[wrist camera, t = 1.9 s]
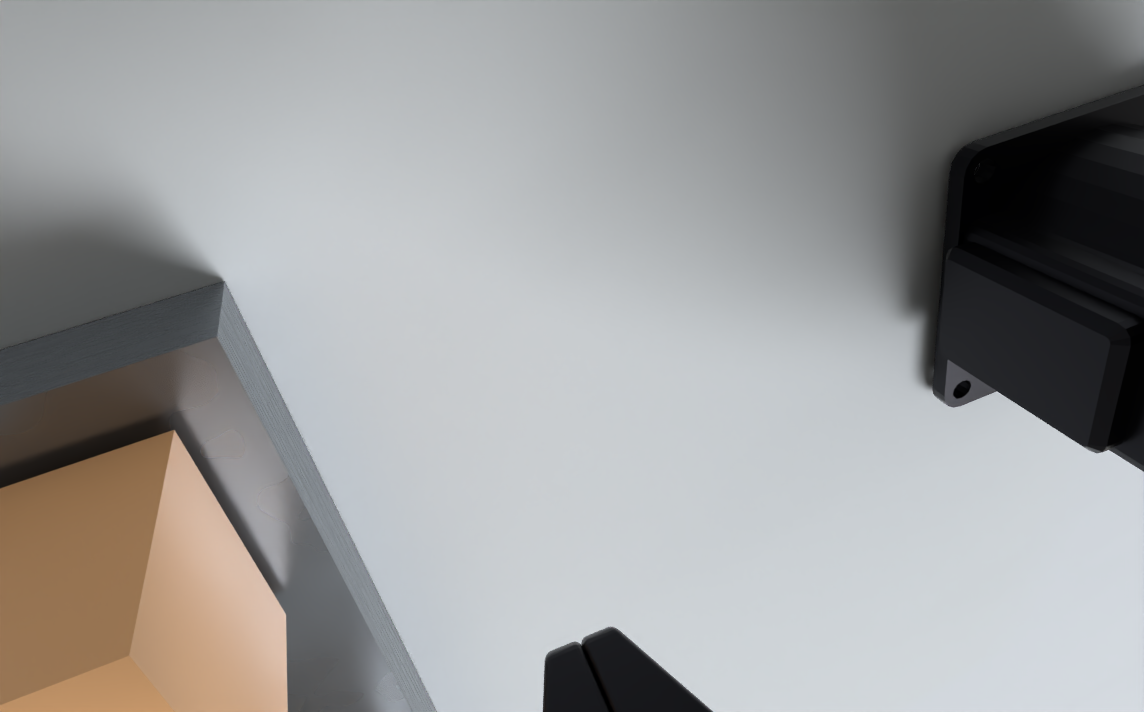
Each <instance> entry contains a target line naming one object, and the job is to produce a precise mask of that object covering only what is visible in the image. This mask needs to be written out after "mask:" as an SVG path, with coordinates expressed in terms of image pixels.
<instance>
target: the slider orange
mask: <svg viewBox="0 0 1144 712" xmlns="http://www.w3.org/2000/svg"><path fill="white" fill-rule="evenodd" d="M0 712H288V705H287V643H286V614H285V612H284V610H283V609H282V607H281V605H280V604H279V602H278V600H277V599H276V597H275V595H274V594H273V592H272V590H271V589H270V587H269V585H268V584H267V582H266V580H265V579H264V577H263V575H262V574H261V572H260V571H259V569H258V567H257V566H256V564H255V562H254V561H253V559H252V557H251V556H250V554H249V552H248V551H247V549H246V547H245V546H244V544H243V542H242V541H241V539H240V537H239V536H238V534H237V532H236V531H235V529H234V527H233V526H232V524H231V523H230V521H229V519H228V518H227V516H226V514H225V513H224V511H223V509H222V508H221V506H220V504H219V503H218V501H217V499H216V498H215V496H214V494H213V493H212V491H211V489H210V488H209V486H208V484H207V483H206V481H205V479H204V478H203V476H202V474H201V473H200V471H199V470H198V468H197V466H196V465H195V463H194V461H193V460H192V458H191V456H190V455H189V453H188V451H187V450H186V448H185V446H184V445H183V443H182V441H181V440H180V438H179V436H178V435H177V433H176V431H175V430H172V431H169V432H166V433H163V434H160V435H157V436H154V437H151V438H148V439H145V440H142V441H139V442H136V443H133V444H130V445H127V446H125V447H122V448H119V449H116V450H113V451H110V452H107V453H104V454H101V455H98V456H95V457H92V458H89V459H86V460H83V461H80V462H77V463H74V464H71V465H68V466H65V467H62V468H59V469H56V470H53V471H50V472H48V473H45V474H42V475H39V476H36V477H33V478H30V479H27V480H24V481H21V482H18V483H15V484H12V485H9V486H6V487H3V488H0Z"/></svg>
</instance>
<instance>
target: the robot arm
mask: <svg viewBox="0 0 1144 712" xmlns="http://www.w3.org/2000/svg"><path fill="white" fill-rule="evenodd" d="M979 163H980V166H979V169H978V170H977V171H976V173H975V170H976V167H977V166H978V165H979ZM974 173H975V174H974ZM996 391H998V392H999V393H1001V394H1002V395H1004V396H1005V397H1007V398H1008V399H1010V400H1012V401H1013V402H1015V403H1016V404H1018V405H1019V406H1021V407H1022V408H1024V409H1026V410H1027V411H1029V412H1030V413H1032V414H1033V415H1035V416H1036V417H1038V418H1040V419H1041V420H1043V421H1044V422H1046V423H1047V424H1049V425H1050V426H1052V427H1054V428H1055V429H1057V430H1058V431H1060V432H1061V433H1063V434H1064V435H1066V436H1068V437H1069V438H1071V439H1072V440H1074V441H1075V442H1077V443H1078V444H1080V445H1082V446H1083V447H1085V448H1086V449H1088V450H1090V451H1092V452H1095V453H1101V452H1104V451H1107V450H1110V451H1112V452H1113V453H1115V454H1116V455H1118V456H1120V457H1121V458H1123V459H1124V460H1126V461H1128V462H1129V463H1131V464H1132V465H1134V466H1136V467H1137V468H1139V469H1140V470H1142V471H1144V85H1143V86H1140V87H1137V88H1134V89H1131V90H1128V91H1125V92H1122V93H1119V94H1116V95H1113V96H1110V97H1107V98H1104V99H1101V100H1098V101H1095V102H1092V103H1089V104H1085V105H1082V106H1079V107H1076V108H1073V109H1070V110H1067V111H1064V112H1061V113H1058V114H1055V115H1052V116H1049V117H1046V118H1043V119H1040V120H1037V121H1034V122H1031V123H1028V124H1025V125H1022V126H1019V127H1016V128H1013V129H1010V130H1007V131H1004V132H1001V133H998V134H995V135H992V136H989V137H986V138H983V139H980V140H977V141H974V142H972V143H970V144H968V145H966V146H964V147H963V148H962V149H961V150H960V151H959V152H958V153H957V155H956V157H955V158H954V160H953V162H952V164H951V169H950V173H949V186H948V198H947V211H946V224H945V237H944V249H943V262H942V275H941V288H940V300H939V313H938V326H937V339H936V351H935V364H934V377H933V394H934V395H935V396H936V397H937V398H938V399H939V400H941V401H942V402H943V403H945V404H946V405H948V406H950V407H958V406H962V405H964V404H967V403H969V402H971V401H974V400H976V399H979V398H981V397H984V396H986V395H989V394H991V393H994V392H996ZM581 644H582V646H581ZM581 644H580V643H578V642H572V643H569V644H567V645H564V646H562V647H560V648H557V649H555V650H552V651H550V652H549V653H548V654H547V655H546V658H545V670H544V696H543V712H713V711H712V710H711V709H709V708H708V707H707V706H706V705H705V704H704V703H702V702H701V701H700V700H699V699H698V698H697V697H696V696H694V695H693V694H692V693H691V692H690V691H689V690H687V689H686V688H685V687H684V686H683V685H682V684H681V683H679V682H678V681H677V680H676V679H675V678H674V677H673V676H671V675H670V674H669V673H668V672H667V671H666V670H664V669H663V668H662V667H661V666H660V665H659V664H658V663H656V662H655V661H654V660H653V659H652V658H651V657H649V656H648V655H647V654H646V653H645V652H644V651H643V650H641V649H640V648H639V647H638V646H637V645H636V644H634V643H633V642H632V641H631V640H630V639H629V638H628V637H626V636H625V635H624V634H623V633H622V632H621V631H619V630H618V629H616V628H614V627H607V628H605V629H603V630H600V631H598V632H595V633H593V634H591V635H588V636H586V637H584V638H583V640H582V643H581Z"/></svg>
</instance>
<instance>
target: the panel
mask: <svg viewBox="0 0 1144 712" xmlns="http://www.w3.org/2000/svg"><path fill="white" fill-rule="evenodd" d="M172 430H175V431H176V433H177V435H178V436H179V438H180V440H181V441H182V443H183V445H184V446H185V448H186V450H187V451H188V453H189V455H190V456H191V458H192V460H193V461H194V463H195V465H196V466H197V468H198V470H199V471H200V473H201V474H202V476H203V478H204V479H205V481H206V483H207V484H208V486H209V488H210V489H211V491H212V493H213V494H214V496H215V498H216V499H217V501H218V503H219V504H220V506H221V508H222V509H223V511H224V513H225V514H226V516H227V518H228V519H229V521H230V523H231V524H232V526H233V527H234V529H235V531H236V532H237V534H238V536H239V537H240V539H241V541H242V542H243V544H244V546H245V547H246V549H247V551H248V552H249V554H250V556H251V557H252V559H253V561H254V562H255V564H256V566H257V567H258V569H259V571H260V572H261V574H262V575H263V577H264V579H265V580H266V582H267V584H268V585H269V587H270V589H271V590H272V592H273V594H274V595H275V597H276V599H277V600H278V602H279V604H280V605H281V607H282V609H283V610H284V612H285V614H286V643H287V705H288V712H437V711H436V709H435V707H434V705H433V703H432V701H431V699H430V697H429V695H428V693H427V691H426V689H425V687H424V685H423V683H422V681H421V679H420V677H419V675H418V673H417V671H416V669H415V666H414V664H413V662H412V660H411V658H410V656H409V654H408V652H407V650H406V648H405V646H404V644H403V642H402V640H401V638H400V636H399V634H398V632H397V630H396V628H395V626H394V624H393V622H392V620H391V618H390V616H389V614H388V612H387V610H386V608H385V606H384V604H383V601H382V599H381V597H380V595H379V593H378V591H377V589H376V587H375V585H374V583H373V581H372V579H371V577H370V575H369V573H368V571H367V569H366V567H365V565H364V563H363V561H362V559H361V557H360V555H359V553H358V551H357V549H356V547H355V545H354V543H353V541H352V539H351V537H350V534H349V532H348V530H347V528H346V526H345V524H344V522H343V520H342V518H341V516H340V514H339V512H338V510H337V508H336V506H335V504H334V502H333V500H332V498H331V496H330V494H329V492H328V490H327V488H326V486H325V484H324V482H323V480H322V478H321V476H320V474H319V472H318V469H317V467H316V465H315V463H314V461H313V459H312V457H311V455H310V453H309V451H308V449H307V447H306V445H305V443H304V441H303V439H302V437H301V435H300V433H299V431H298V429H297V427H296V425H295V423H294V421H293V419H292V417H291V415H290V413H289V411H288V409H287V407H286V405H285V402H284V400H283V398H282V396H281V394H280V392H279V390H278V388H277V386H276V384H275V382H274V380H273V378H272V376H271V374H270V372H269V370H268V368H267V366H266V364H265V362H264V360H263V358H262V356H261V354H260V352H259V350H258V348H257V346H256V344H255V342H254V340H253V337H252V335H251V333H250V331H249V329H248V327H247V325H246V323H245V321H244V319H243V317H242V315H241V313H240V311H239V309H238V307H237V305H236V303H235V301H234V299H233V297H232V295H231V293H230V291H229V289H228V287H227V285H226V283H225V281H224V282H221V283H217V284H214V285H211V286H208V287H204V288H201V289H198V290H195V291H191V292H188V293H185V294H182V295H178V296H175V297H172V298H169V299H165V300H162V301H159V302H156V303H152V304H149V305H146V306H143V307H139V308H136V309H133V310H130V311H126V312H123V313H120V314H117V315H113V316H110V317H107V318H104V319H100V320H97V321H94V322H91V323H87V324H84V325H81V326H78V327H74V328H71V329H68V330H65V331H61V332H58V333H55V334H52V335H48V336H45V337H42V338H39V339H35V340H32V341H29V342H26V343H22V344H19V345H16V346H13V347H9V348H6V349H3V350H0V488H3V487H6V486H9V485H12V484H15V483H18V482H21V481H24V480H27V479H30V478H33V477H36V476H39V475H42V474H45V473H48V472H50V471H53V470H56V469H59V468H62V467H65V466H68V465H71V464H74V463H77V462H80V461H83V460H86V459H89V458H92V457H95V456H98V455H101V454H104V453H107V452H110V451H113V450H116V449H119V448H122V447H125V446H127V445H130V444H133V443H136V442H139V441H142V440H145V439H148V438H151V437H154V436H157V435H160V434H163V433H166V432H169V431H172Z"/></svg>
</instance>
